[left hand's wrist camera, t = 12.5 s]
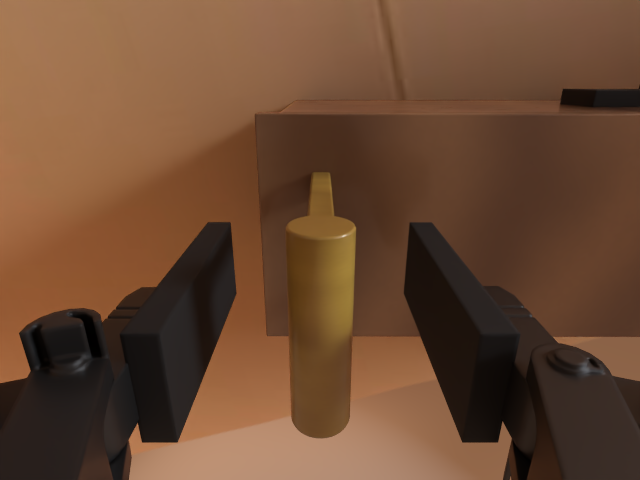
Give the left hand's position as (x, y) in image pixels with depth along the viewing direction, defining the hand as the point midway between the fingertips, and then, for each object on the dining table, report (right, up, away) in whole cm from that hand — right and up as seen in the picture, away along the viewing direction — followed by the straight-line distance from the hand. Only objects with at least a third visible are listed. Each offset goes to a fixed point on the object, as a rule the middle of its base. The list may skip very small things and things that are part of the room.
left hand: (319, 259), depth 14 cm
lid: (+7, +1, +3) cm, 7 cm away
